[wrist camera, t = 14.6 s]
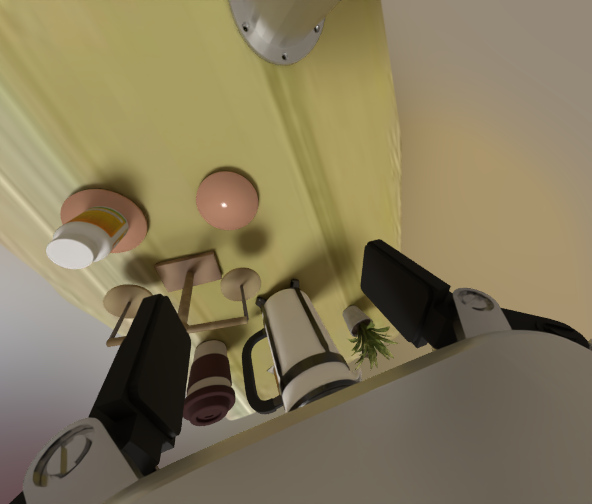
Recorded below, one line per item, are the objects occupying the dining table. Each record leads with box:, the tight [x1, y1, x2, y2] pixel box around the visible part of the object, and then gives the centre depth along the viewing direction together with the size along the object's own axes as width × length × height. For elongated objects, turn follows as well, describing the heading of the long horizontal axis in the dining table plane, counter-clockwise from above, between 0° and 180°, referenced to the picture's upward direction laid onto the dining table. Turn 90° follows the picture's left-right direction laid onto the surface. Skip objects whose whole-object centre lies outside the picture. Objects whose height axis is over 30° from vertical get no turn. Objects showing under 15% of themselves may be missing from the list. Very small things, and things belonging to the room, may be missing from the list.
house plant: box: [343, 305, 397, 370], centre depth 56 cm, size 14×14×16 cm
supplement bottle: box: [46, 206, 129, 269], centre depth 27 cm, size 5×5×10 cm
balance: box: [103, 251, 261, 347], centre depth 33 cm, size 24×7×17 cm, turn 95°
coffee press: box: [242, 279, 361, 414], centre depth 40 cm, size 17×16×30 cm
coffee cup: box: [183, 340, 235, 426], centre depth 46 cm, size 10×10×15 cm
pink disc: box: [196, 171, 258, 230], centre depth 36 cm, size 10×10×1 cm
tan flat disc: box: [61, 189, 148, 253], centre depth 32 cm, size 10×10×1 cm
